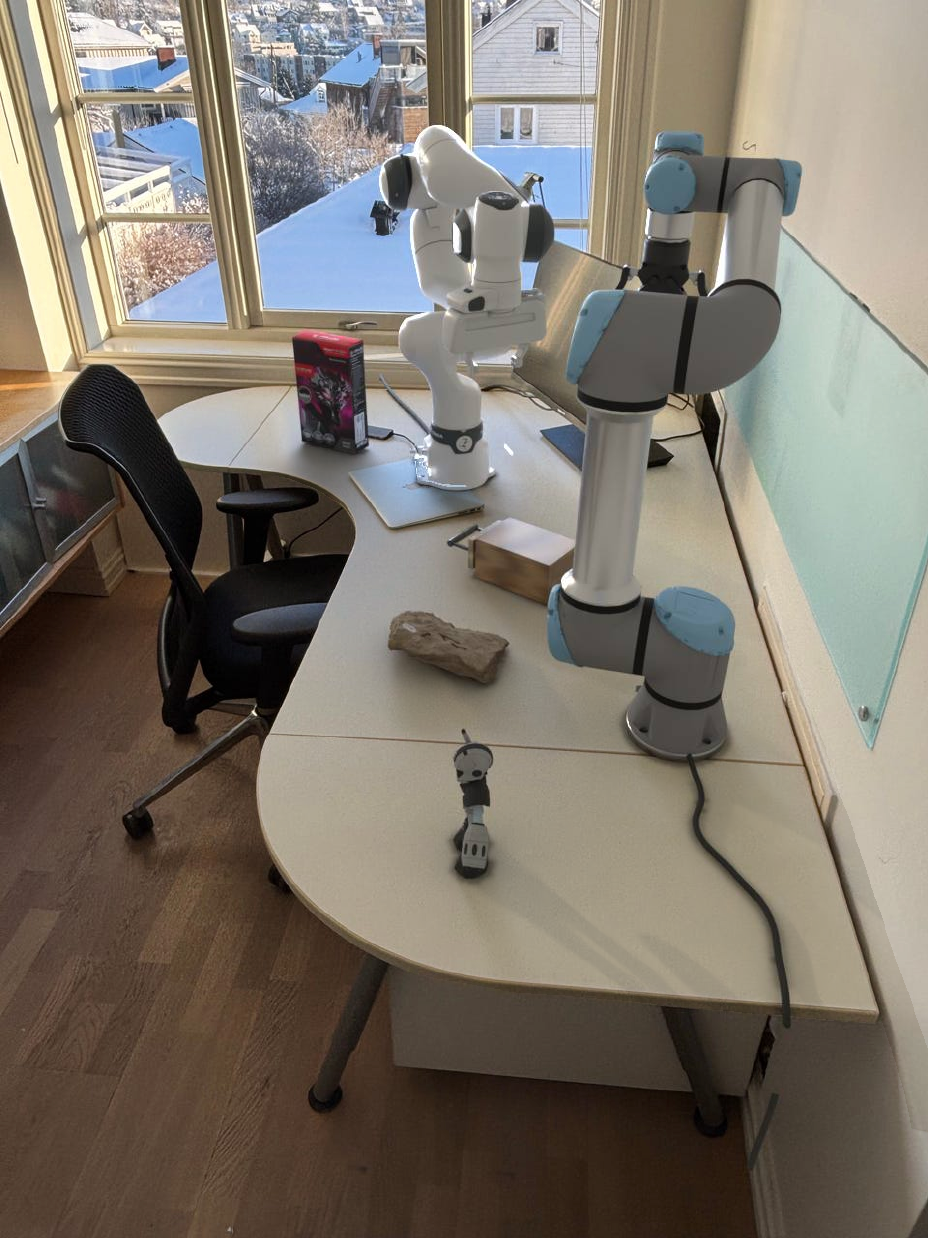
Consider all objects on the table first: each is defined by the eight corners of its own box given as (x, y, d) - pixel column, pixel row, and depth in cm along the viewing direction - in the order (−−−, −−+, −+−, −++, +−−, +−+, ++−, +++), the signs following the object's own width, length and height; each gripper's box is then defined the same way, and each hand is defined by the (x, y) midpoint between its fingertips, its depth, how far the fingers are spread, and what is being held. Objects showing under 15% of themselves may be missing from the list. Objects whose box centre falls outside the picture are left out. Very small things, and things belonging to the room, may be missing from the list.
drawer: (445, 558, 185) (444, 529, 181) (474, 539, 191) (475, 511, 188) (533, 593, 174) (534, 563, 170) (561, 571, 181) (563, 542, 177)
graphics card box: (299, 442, 234) (289, 335, 219) (315, 433, 239) (306, 328, 224) (356, 456, 228) (349, 346, 213) (371, 446, 233) (365, 338, 218)
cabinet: (474, 576, 181) (475, 538, 176) (507, 554, 188) (509, 516, 184) (546, 605, 172) (549, 565, 168) (578, 580, 180) (581, 541, 175)
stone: (364, 657, 153) (371, 625, 150) (394, 627, 166) (401, 597, 164) (483, 699, 149) (492, 667, 147) (504, 665, 163) (513, 635, 160)
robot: (495, 914, 114) (500, 797, 103) (456, 915, 114) (456, 798, 103) (484, 799, 130) (487, 688, 119) (450, 801, 130) (450, 689, 119)
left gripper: (536, 282, 170) (533, 357, 178) (438, 295, 162) (438, 373, 169) (555, 290, 165) (551, 366, 173) (454, 304, 157) (454, 383, 165)
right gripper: (746, 237, 151) (725, 364, 163) (595, 228, 157) (585, 352, 169) (746, 247, 145) (723, 378, 157) (588, 237, 151) (578, 364, 163)
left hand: (494, 370), depth 171 cm, fingers open, 8 cm apart
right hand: (652, 365), depth 163 cm, fingers open, 13 cm apart
